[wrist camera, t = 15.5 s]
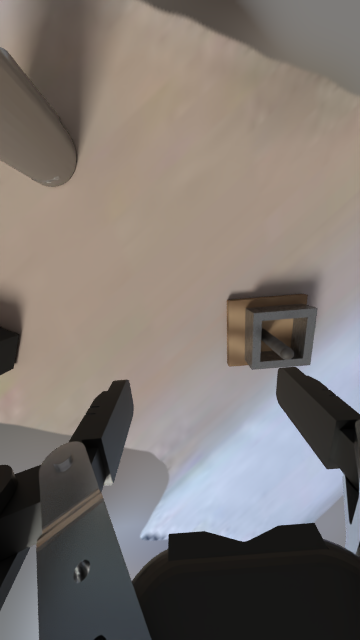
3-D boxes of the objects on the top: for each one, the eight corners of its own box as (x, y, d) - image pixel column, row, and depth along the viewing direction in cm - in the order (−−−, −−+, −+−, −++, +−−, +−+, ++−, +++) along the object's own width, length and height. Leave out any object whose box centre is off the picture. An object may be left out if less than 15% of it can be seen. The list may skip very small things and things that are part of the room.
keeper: (226, 300, 37) (248, 314, 26) (302, 293, 37) (355, 306, 26) (227, 363, 41) (246, 398, 30) (295, 357, 41) (339, 391, 30)
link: (245, 308, 36) (253, 313, 33) (302, 303, 36) (317, 308, 32) (244, 359, 39) (251, 369, 36) (297, 355, 39) (310, 364, 36)
